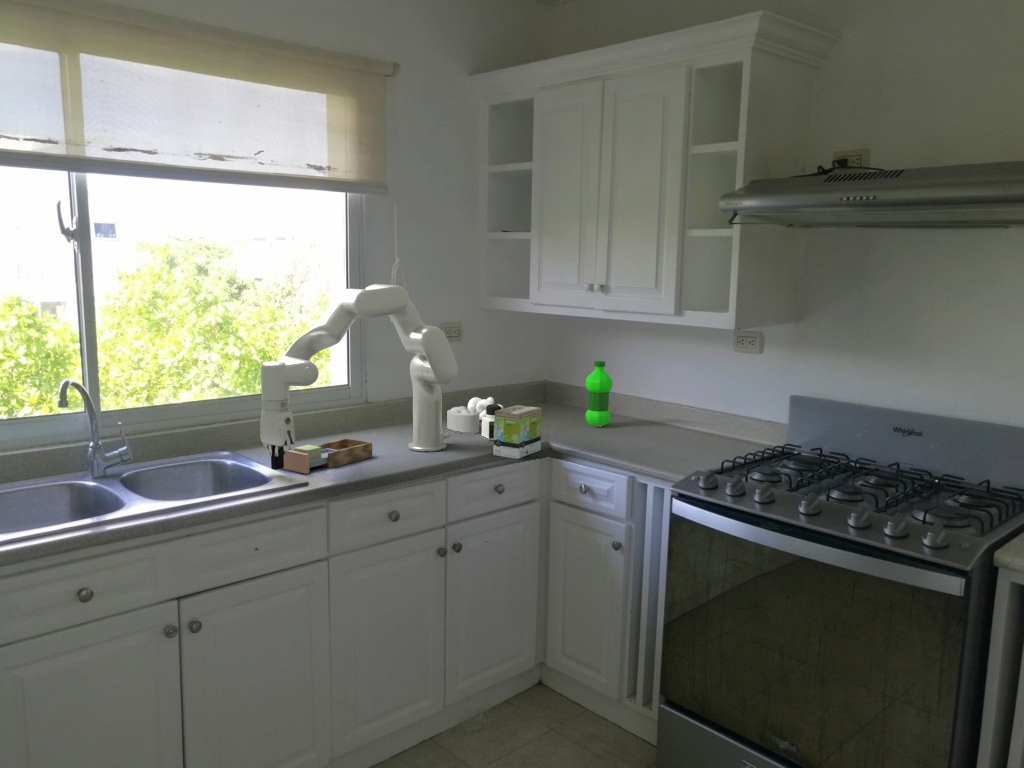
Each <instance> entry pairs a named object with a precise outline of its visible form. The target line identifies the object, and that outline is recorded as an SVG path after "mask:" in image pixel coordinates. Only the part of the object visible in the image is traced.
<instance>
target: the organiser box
mask: <svg viewBox="0 0 1024 768" xmlns="http://www.w3.org/2000/svg"><path fill="white" fill-rule="evenodd" d="M314 446H318V447H321V449H325V448H329V449H335V450H338V451H333V452H329V453H328V463H326V464H323V465H319V467H323V468H328V469H331V468H335V467H339V466H343V465H346V464H350V463H353V462H357V461H361V459H362V460H364V458H366V459H368V457H369V458H372V457H373V442H370V441H364V440H359V439H354V438H349V437H346V438H342V439H337V440H333V441H328V442H324V443H321V444H316V445H314Z"/></svg>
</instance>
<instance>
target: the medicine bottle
mask: <svg viewBox="0 0 1024 768" xmlns="http://www.w3.org/2000/svg"><path fill="white" fill-rule="evenodd" d="M500 409H504V406H503V405H502V404H499V403H494V404H490V405H487V406H486V416H487V417H482V422H481V437H482V436H484V437H486V438H488V439H492V438H494V419H495V411H496V410H500Z"/></svg>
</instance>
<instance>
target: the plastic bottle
mask: <svg viewBox="0 0 1024 768" xmlns="http://www.w3.org/2000/svg"><path fill="white" fill-rule="evenodd" d="M593 363H594V364H593V366H594V367H595V368H594V369H595V370H593V371H592V372H591V373H590V374H588V376H587V377H586V379H585V387H586V390H587V391H588V404H587V405H588V406H587V407H588V408H587V410H586V412H585V420H586V422H587V423H588V425H590V424H594V425H605V424H607V425H608V424H609V423H610V421H611V417H612V416H611V414H610V413H611V412H610V411H609V410H610V409H609V402H610V401H609V400H610V399H609V397H610V391H611V390H612V389H613V380H612V377H611V375H610V374H608V372H606V371H605V369H604V368H605V367H606V361H605V360H594V361H593ZM605 426H606V425H605Z"/></svg>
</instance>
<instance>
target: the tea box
mask: <svg viewBox="0 0 1024 768" xmlns="http://www.w3.org/2000/svg"><path fill="white" fill-rule="evenodd" d="M542 418H543V408H542V407H537V406H536V407H535V406H528V405H520V404H517V405H512V406H508V407H503V409H500V410H496V411H495V419H494V440H493V447H492V449H493V456H497V457H503V458H509V459H516V460H519V459H522V458H523V457H526V456H529V455H531V454H535V453H537V452H540V451H541V449H542V445H541V444H542V425H543V424H542V423H543V422H542V420H543V419H542Z"/></svg>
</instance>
